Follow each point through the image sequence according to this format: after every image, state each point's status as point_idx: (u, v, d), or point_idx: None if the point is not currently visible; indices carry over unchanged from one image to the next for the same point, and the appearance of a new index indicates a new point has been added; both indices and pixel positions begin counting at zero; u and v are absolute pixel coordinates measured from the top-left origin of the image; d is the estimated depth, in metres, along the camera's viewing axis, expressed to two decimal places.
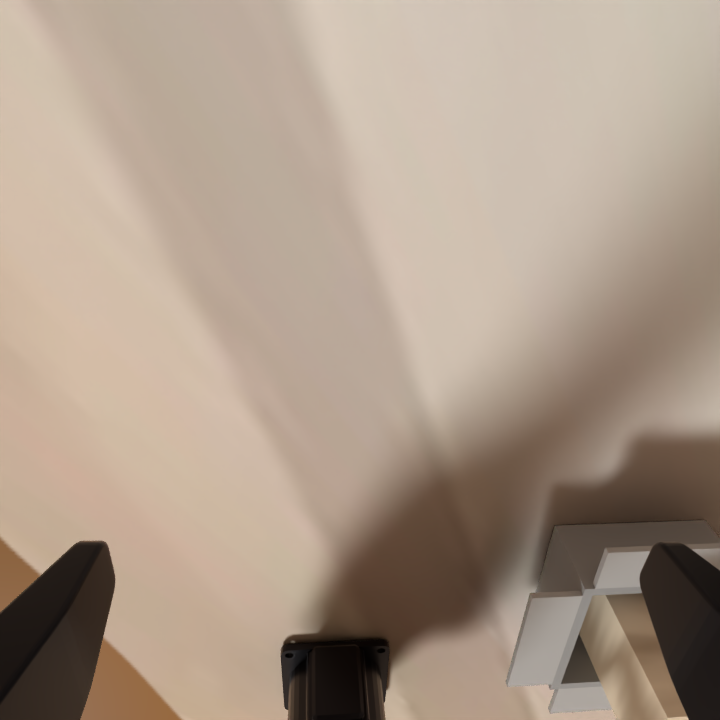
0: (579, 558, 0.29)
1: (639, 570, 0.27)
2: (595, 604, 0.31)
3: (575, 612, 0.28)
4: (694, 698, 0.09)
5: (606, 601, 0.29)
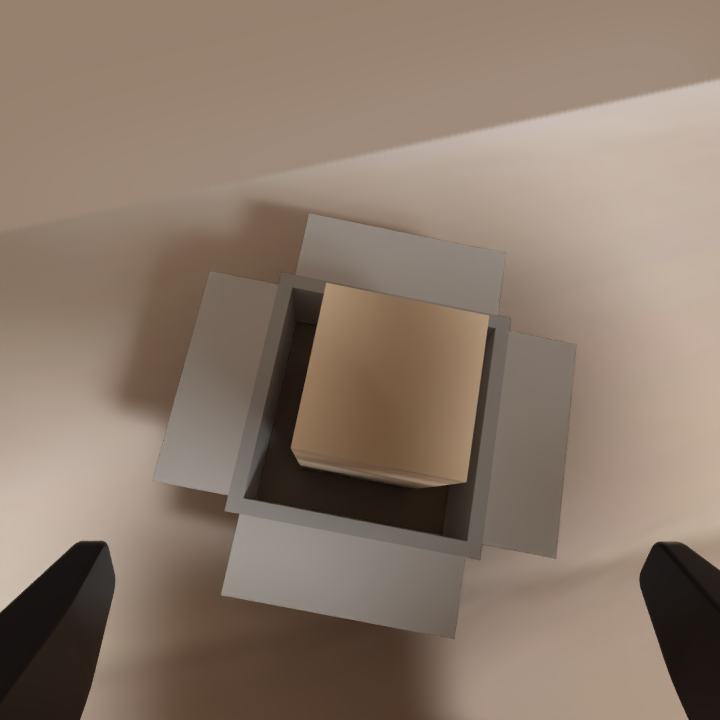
0: None
1: (206, 432, 0.19)
2: (336, 471, 0.21)
3: (276, 523, 0.19)
4: (694, 698, 0.09)
5: (303, 464, 0.20)
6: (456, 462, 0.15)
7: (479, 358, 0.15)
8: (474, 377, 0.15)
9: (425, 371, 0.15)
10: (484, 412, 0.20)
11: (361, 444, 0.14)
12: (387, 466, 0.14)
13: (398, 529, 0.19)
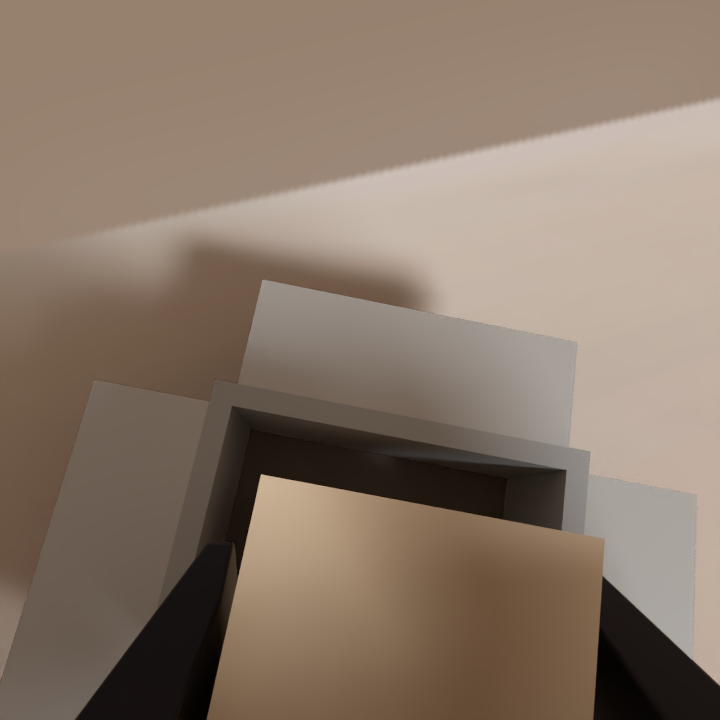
0: None
1: (75, 675, 0.11)
2: None
3: None
4: None
5: None
6: None
7: (589, 640, 0.07)
8: (581, 687, 0.07)
9: (475, 677, 0.07)
10: None
11: None
12: None
13: None
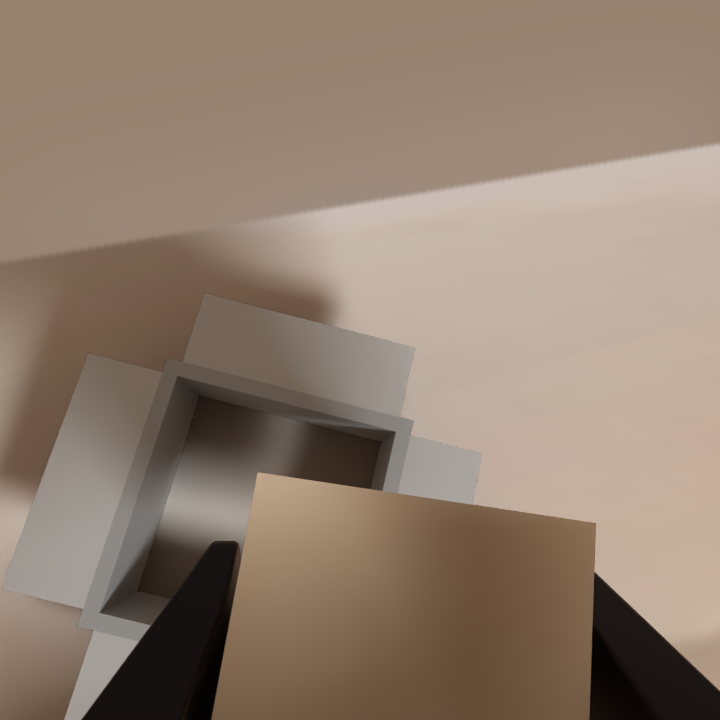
0: None
1: (66, 536, 0.18)
2: None
3: (133, 643, 0.17)
4: None
5: None
6: None
7: (583, 622, 0.07)
8: (577, 668, 0.07)
9: (475, 664, 0.07)
10: None
11: None
12: None
13: None
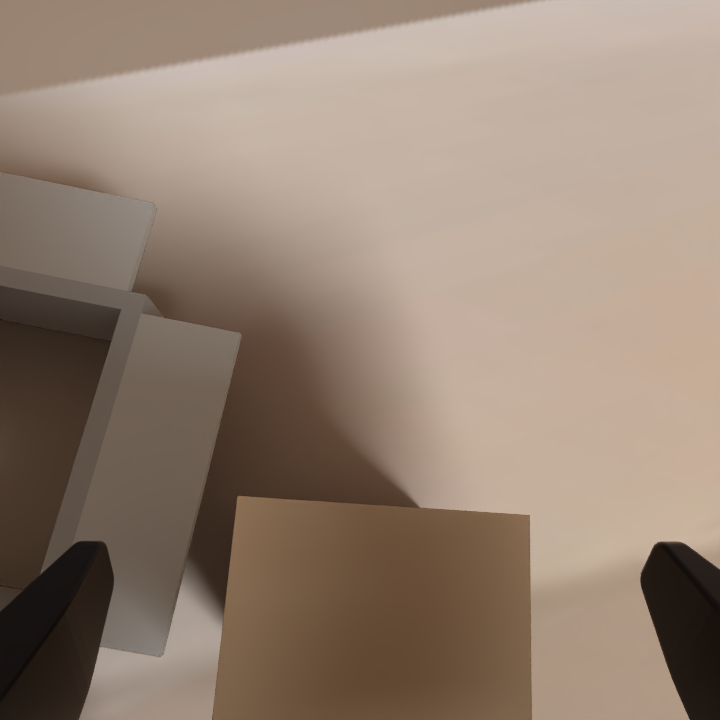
0: None
1: None
2: None
3: None
4: (695, 698, 0.09)
5: None
6: None
7: (522, 600, 0.09)
8: (519, 639, 0.08)
9: (432, 641, 0.08)
10: (84, 433, 0.14)
11: None
12: None
13: None
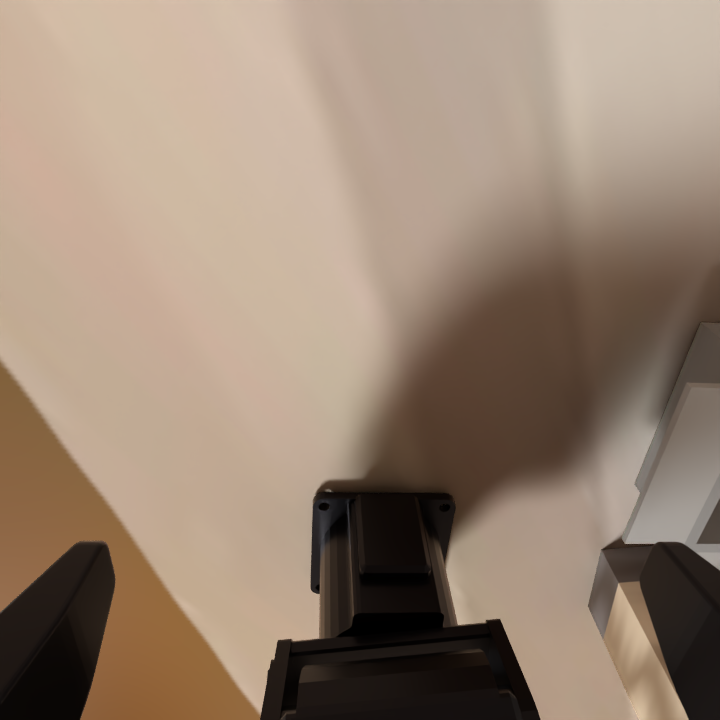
0: None
1: None
2: (618, 610, 0.28)
3: None
4: (694, 698, 0.09)
5: (629, 607, 0.26)
6: None
7: None
8: None
9: None
10: None
11: None
12: None
13: (716, 502, 0.22)
